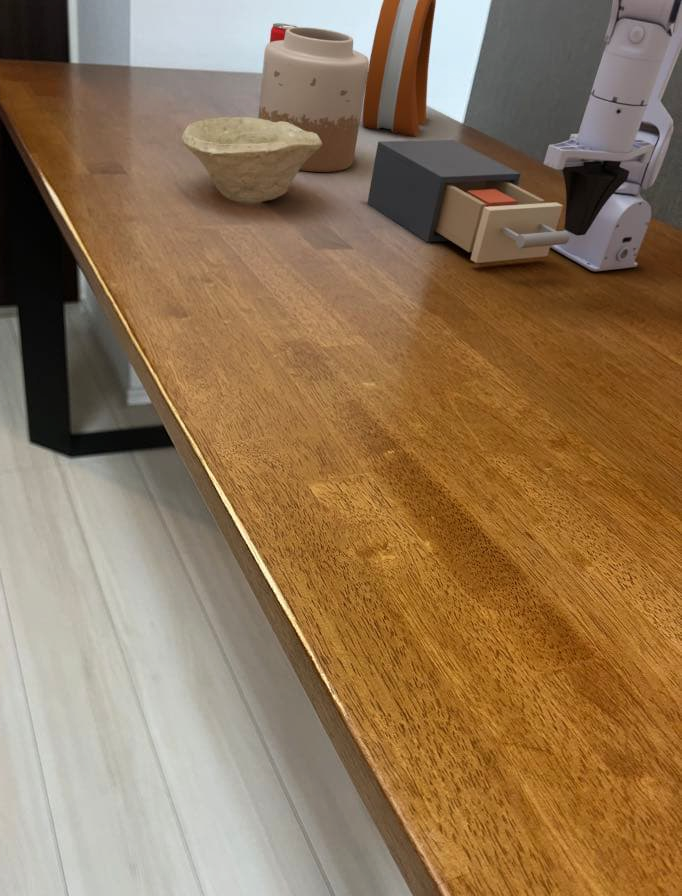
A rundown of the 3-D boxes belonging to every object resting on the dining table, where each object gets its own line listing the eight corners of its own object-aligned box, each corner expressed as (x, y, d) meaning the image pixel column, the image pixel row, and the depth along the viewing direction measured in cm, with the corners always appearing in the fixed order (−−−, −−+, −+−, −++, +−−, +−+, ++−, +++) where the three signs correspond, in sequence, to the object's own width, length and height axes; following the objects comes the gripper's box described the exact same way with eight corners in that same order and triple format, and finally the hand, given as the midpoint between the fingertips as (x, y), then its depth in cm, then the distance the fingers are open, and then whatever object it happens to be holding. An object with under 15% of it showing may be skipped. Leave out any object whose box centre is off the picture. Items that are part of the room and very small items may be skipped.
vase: (367, 158, 136) (388, 39, 125) (328, 179, 125) (347, 50, 114) (282, 136, 140) (295, 19, 130) (237, 155, 129) (247, 28, 119)
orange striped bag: (413, 141, 147) (444, -13, 133) (357, 131, 149) (382, -23, 134) (428, 115, 164) (457, -25, 150) (378, 105, 165) (402, -34, 151)
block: (507, 237, 108) (518, 200, 105) (479, 239, 106) (489, 202, 103) (485, 224, 111) (495, 188, 108) (458, 226, 109) (467, 190, 106)
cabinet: (503, 236, 114) (521, 173, 109) (427, 242, 109) (442, 176, 104) (440, 199, 124) (453, 139, 119) (367, 203, 118) (377, 141, 113)
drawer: (572, 270, 104) (589, 218, 100) (499, 278, 100) (515, 224, 96) (481, 218, 116) (494, 170, 112) (413, 223, 111) (423, 172, 107)
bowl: (250, 248, 112) (166, 166, 105) (255, 193, 125) (180, 117, 118) (329, 174, 105) (245, 81, 98) (326, 124, 118) (251, 38, 111)
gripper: (634, 88, 93) (591, 214, 101) (540, 89, 86) (503, 224, 94) (688, 105, 88) (638, 236, 97) (593, 108, 81) (548, 248, 90)
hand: (574, 232), depth 95 cm, fingers closed
